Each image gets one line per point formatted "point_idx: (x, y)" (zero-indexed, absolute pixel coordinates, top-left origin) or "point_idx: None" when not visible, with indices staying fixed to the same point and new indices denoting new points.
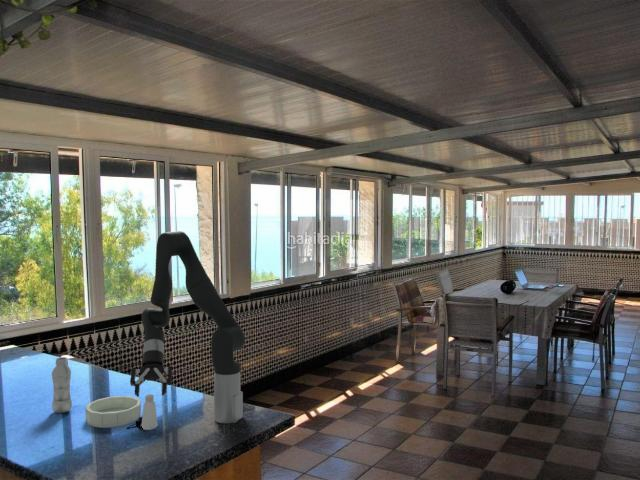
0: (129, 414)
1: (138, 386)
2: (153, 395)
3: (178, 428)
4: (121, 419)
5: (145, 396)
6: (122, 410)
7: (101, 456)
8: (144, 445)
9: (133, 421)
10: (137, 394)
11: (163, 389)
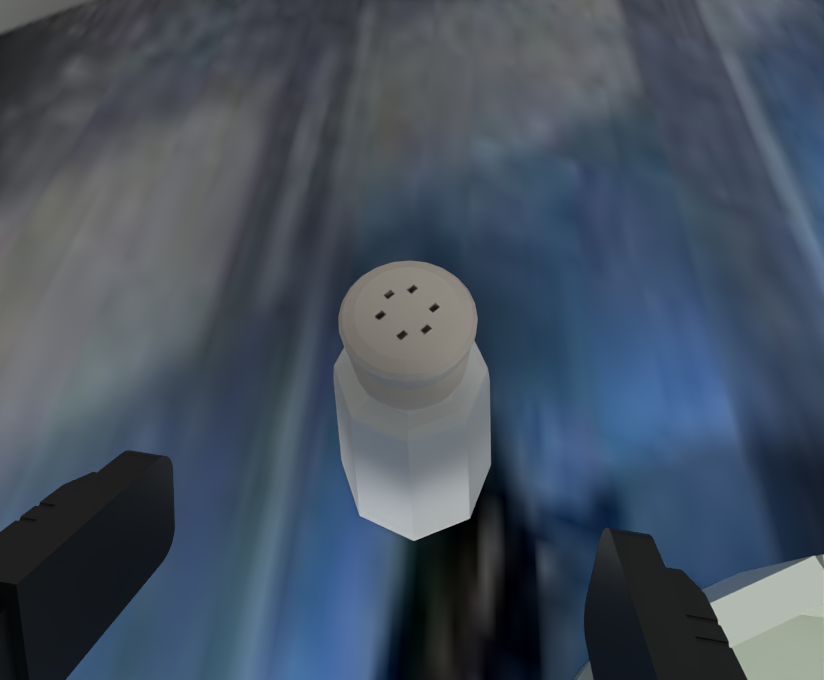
0: None
1: (665, 658)
2: (342, 310)
3: (192, 350)
4: (720, 584)
5: (472, 308)
6: (766, 625)
7: (712, 103)
8: (469, 159)
9: (577, 675)
10: (622, 532)
11: (104, 477)
